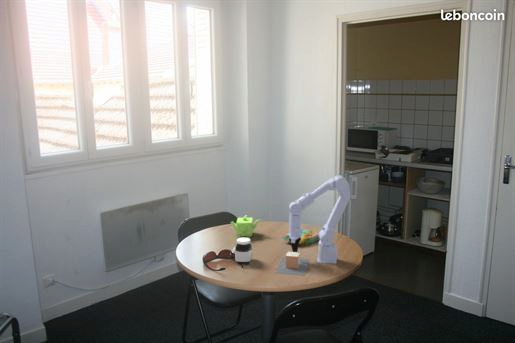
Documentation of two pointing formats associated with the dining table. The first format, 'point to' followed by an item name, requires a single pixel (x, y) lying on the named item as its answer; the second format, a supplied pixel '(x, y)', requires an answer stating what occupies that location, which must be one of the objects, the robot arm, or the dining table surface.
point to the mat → (292, 271)
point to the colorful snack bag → (305, 237)
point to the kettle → (245, 226)
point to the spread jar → (243, 251)
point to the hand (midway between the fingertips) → (295, 251)
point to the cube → (293, 260)
